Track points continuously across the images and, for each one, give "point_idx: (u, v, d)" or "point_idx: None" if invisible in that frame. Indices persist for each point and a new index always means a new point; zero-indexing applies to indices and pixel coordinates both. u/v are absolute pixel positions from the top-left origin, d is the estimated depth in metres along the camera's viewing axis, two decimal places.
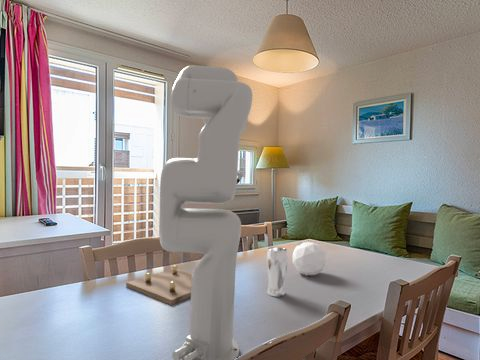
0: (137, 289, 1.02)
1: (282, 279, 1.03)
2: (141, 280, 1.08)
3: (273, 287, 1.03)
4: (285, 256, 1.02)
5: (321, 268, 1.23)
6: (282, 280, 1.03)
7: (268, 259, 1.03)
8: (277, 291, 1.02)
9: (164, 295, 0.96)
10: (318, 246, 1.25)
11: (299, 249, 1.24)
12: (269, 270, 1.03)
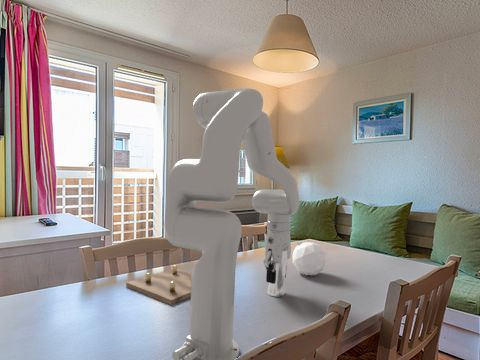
0: (137, 289, 1.02)
1: (282, 279, 1.03)
2: (141, 280, 1.08)
3: (273, 287, 1.03)
4: (285, 256, 1.02)
5: (321, 268, 1.23)
6: (282, 280, 1.03)
7: None
8: (277, 291, 1.02)
9: (164, 295, 0.96)
10: (318, 246, 1.25)
11: (299, 249, 1.24)
12: None
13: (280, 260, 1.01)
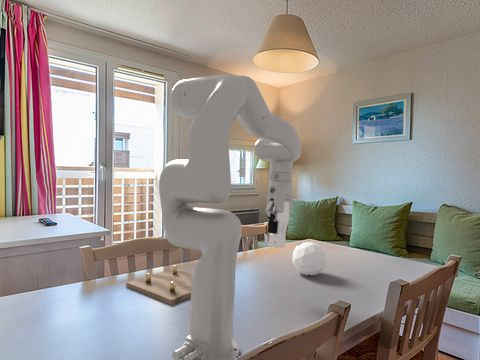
0: (137, 289, 1.02)
1: (284, 230, 1.02)
2: (141, 280, 1.08)
3: (274, 238, 1.02)
4: (287, 207, 1.02)
5: (321, 268, 1.23)
6: (284, 231, 1.02)
7: None
8: (279, 242, 1.01)
9: (164, 295, 0.96)
10: (318, 246, 1.25)
11: (299, 249, 1.24)
12: None
13: (282, 210, 1.00)
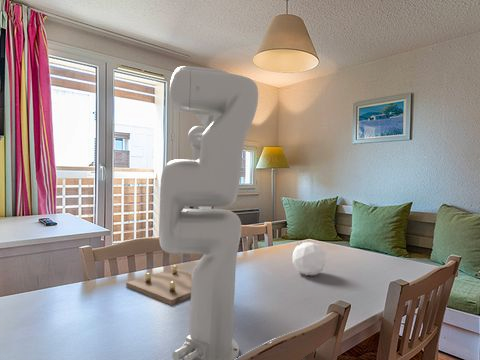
0: (137, 289, 1.02)
1: None
2: (141, 280, 1.08)
3: None
4: None
5: (321, 268, 1.23)
6: None
7: None
8: None
9: (164, 295, 0.96)
10: (318, 246, 1.25)
11: (299, 249, 1.24)
12: None
13: None
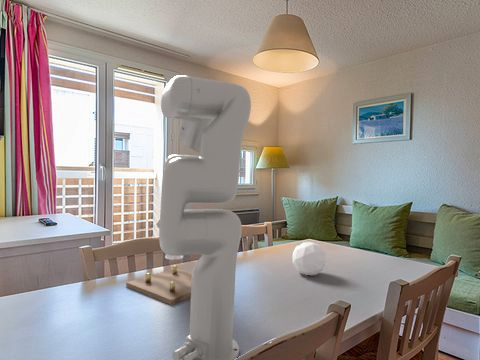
0: (137, 289, 1.02)
1: None
2: (141, 280, 1.08)
3: None
4: None
5: (321, 268, 1.23)
6: None
7: None
8: None
9: (164, 295, 0.96)
10: (318, 246, 1.25)
11: (299, 249, 1.24)
12: None
13: None
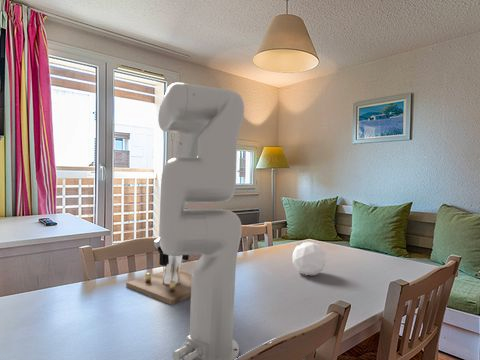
0: (137, 289, 1.02)
1: (175, 268, 1.04)
2: (141, 280, 1.08)
3: (166, 276, 1.04)
4: None
5: (321, 268, 1.23)
6: (176, 269, 1.05)
7: None
8: (170, 280, 1.04)
9: (164, 295, 0.96)
10: (318, 246, 1.25)
11: (299, 249, 1.24)
12: None
13: None
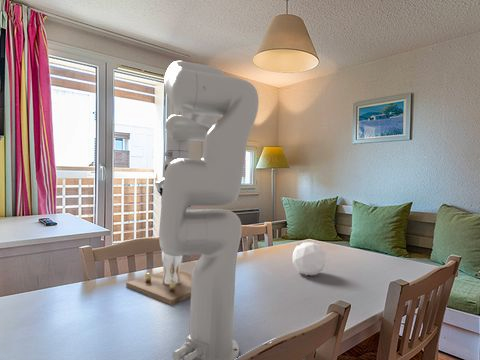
0: (137, 289, 1.02)
1: (175, 268, 1.04)
2: (141, 280, 1.08)
3: (166, 276, 1.04)
4: None
5: (321, 268, 1.23)
6: (175, 269, 1.05)
7: None
8: (170, 280, 1.04)
9: (164, 295, 0.96)
10: (318, 246, 1.25)
11: (299, 249, 1.24)
12: (163, 259, 1.04)
13: None
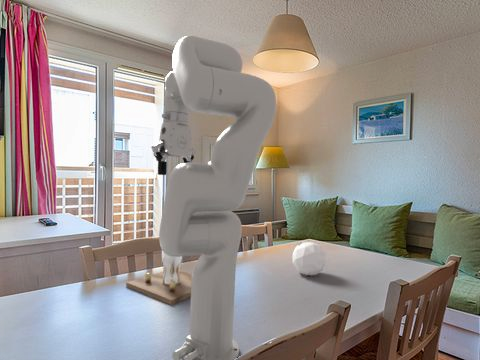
0: (137, 289, 1.02)
1: (175, 268, 1.04)
2: (141, 280, 1.08)
3: (166, 276, 1.04)
4: None
5: (321, 268, 1.23)
6: (175, 269, 1.05)
7: None
8: (170, 280, 1.04)
9: (164, 295, 0.96)
10: (318, 246, 1.25)
11: (299, 249, 1.24)
12: (163, 259, 1.04)
13: (174, 152, 0.94)
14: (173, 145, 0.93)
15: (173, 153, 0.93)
